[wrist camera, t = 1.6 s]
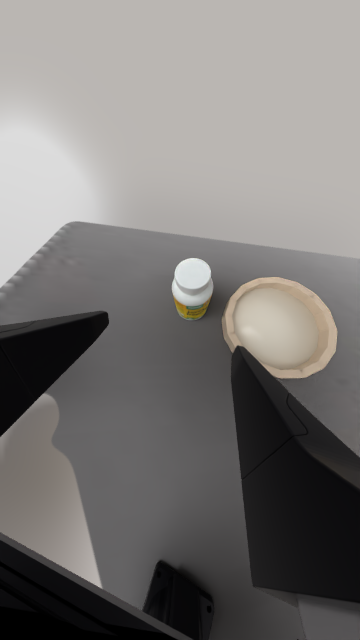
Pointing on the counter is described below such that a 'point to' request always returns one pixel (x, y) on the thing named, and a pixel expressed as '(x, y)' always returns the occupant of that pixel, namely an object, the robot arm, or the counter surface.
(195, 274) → the supplement bottle
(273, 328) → the round tray
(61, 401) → the counter surface
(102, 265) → the counter surface
